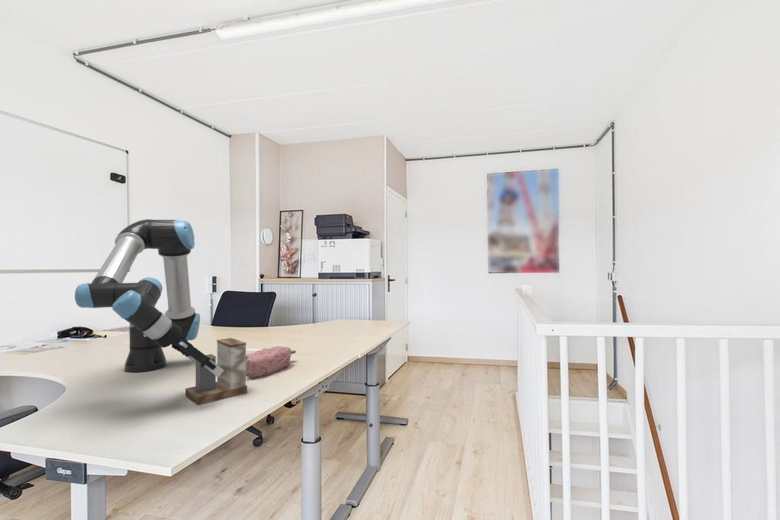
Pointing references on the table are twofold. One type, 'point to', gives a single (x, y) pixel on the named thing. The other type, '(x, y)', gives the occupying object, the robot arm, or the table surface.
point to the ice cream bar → (267, 361)
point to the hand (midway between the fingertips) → (212, 369)
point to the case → (205, 377)
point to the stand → (225, 373)
